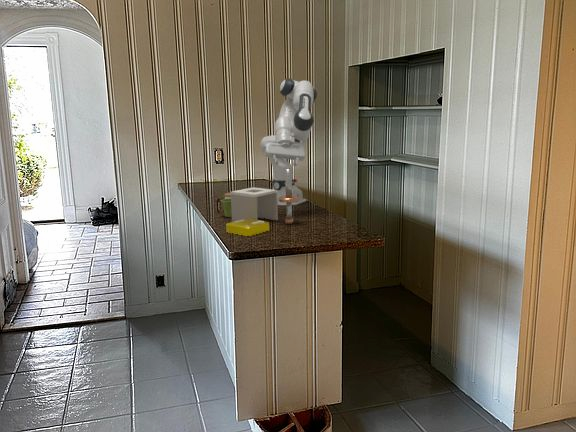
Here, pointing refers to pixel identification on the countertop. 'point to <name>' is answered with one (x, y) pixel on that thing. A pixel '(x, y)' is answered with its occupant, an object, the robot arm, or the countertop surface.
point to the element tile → (247, 227)
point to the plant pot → (227, 207)
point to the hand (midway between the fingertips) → (285, 164)
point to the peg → (289, 196)
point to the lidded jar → (227, 195)
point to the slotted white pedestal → (254, 204)
